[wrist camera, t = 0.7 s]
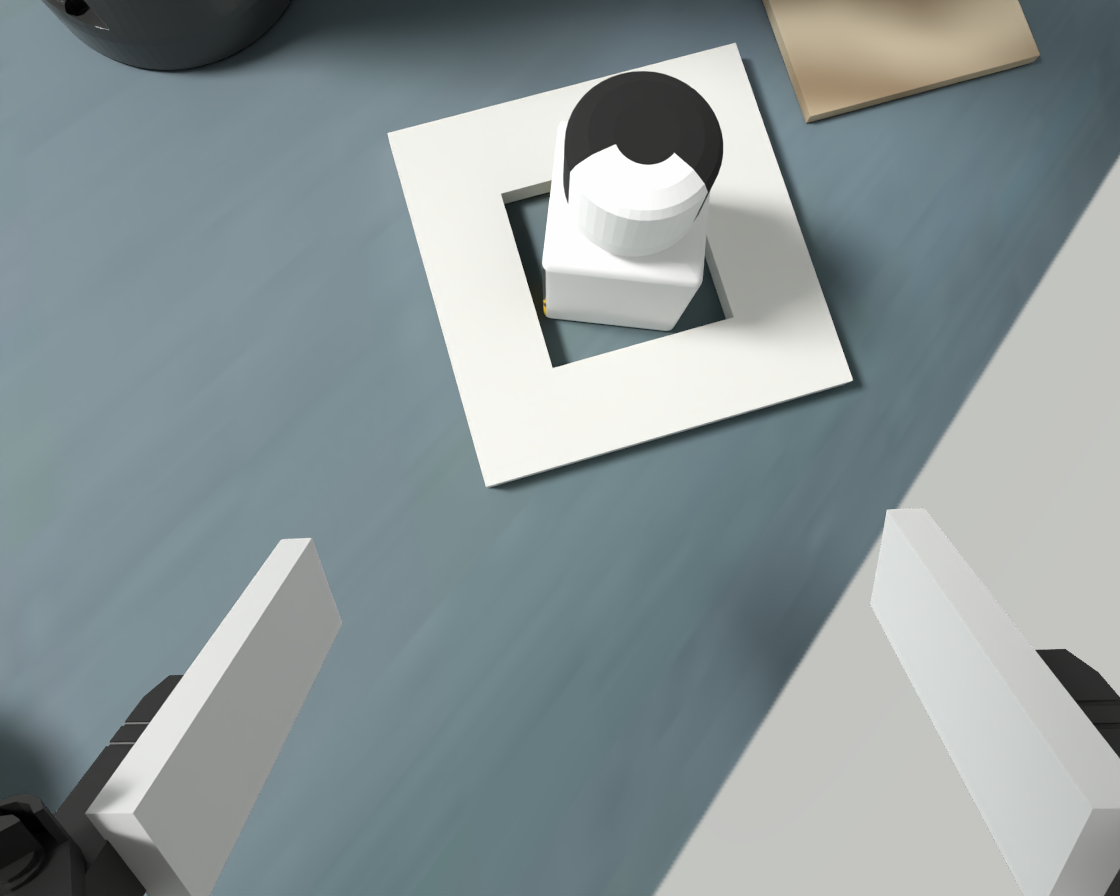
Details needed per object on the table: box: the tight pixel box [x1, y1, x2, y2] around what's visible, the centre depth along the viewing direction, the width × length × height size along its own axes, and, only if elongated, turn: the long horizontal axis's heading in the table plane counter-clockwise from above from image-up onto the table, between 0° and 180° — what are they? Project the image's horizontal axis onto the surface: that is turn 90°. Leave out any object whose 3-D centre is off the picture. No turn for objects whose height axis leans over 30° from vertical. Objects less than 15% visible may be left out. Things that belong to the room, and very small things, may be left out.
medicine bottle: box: [542, 71, 723, 331], centre depth 29 cm, size 7×7×12 cm
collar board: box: [387, 43, 853, 488], centre depth 35 cm, size 20×20×1 cm
